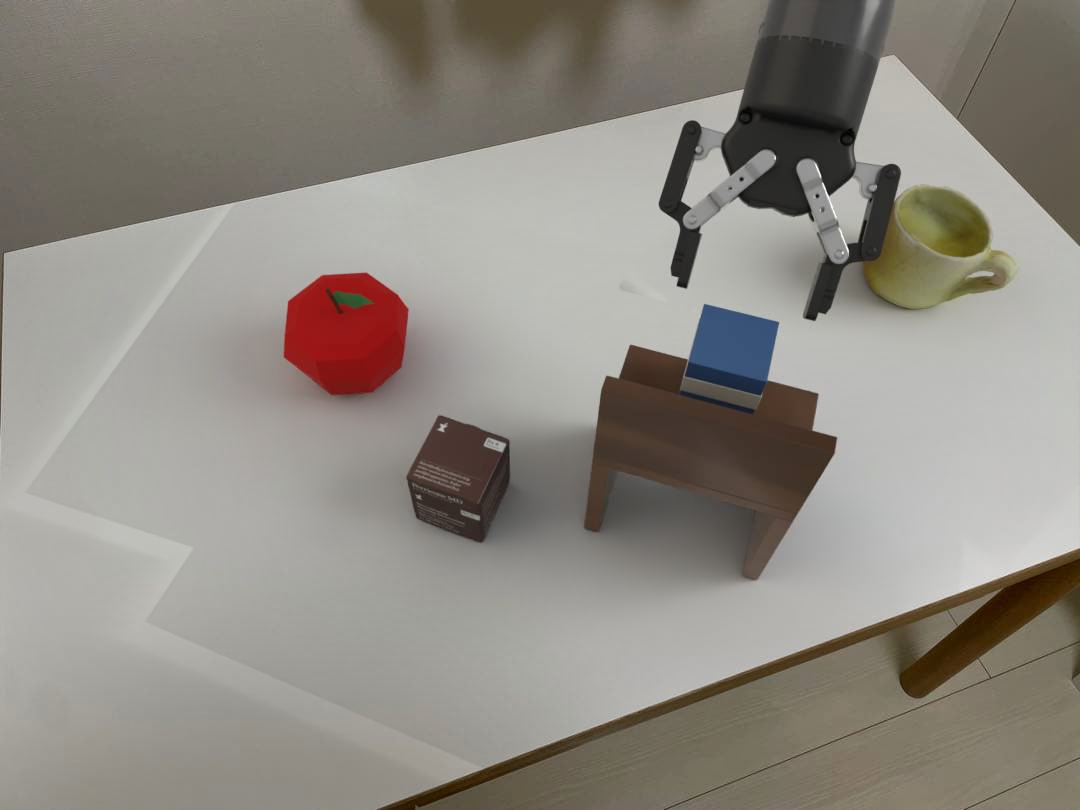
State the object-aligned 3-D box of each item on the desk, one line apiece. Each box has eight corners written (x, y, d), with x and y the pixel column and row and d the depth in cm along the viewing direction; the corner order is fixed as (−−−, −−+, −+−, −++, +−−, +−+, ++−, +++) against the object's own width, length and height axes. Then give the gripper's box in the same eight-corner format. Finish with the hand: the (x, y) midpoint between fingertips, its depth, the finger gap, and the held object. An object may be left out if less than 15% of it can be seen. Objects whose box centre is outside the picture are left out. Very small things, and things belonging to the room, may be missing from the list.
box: (414, 519, 68) (402, 476, 62) (445, 458, 71) (437, 412, 65) (483, 545, 67) (478, 504, 61) (512, 482, 70) (510, 437, 64)
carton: (687, 364, 62) (703, 302, 56) (756, 381, 61) (780, 321, 55) (671, 420, 59) (687, 362, 53) (743, 439, 58) (767, 382, 52)
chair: (616, 427, 73) (641, 271, 56) (778, 472, 71) (855, 323, 54) (583, 528, 68) (600, 390, 51) (757, 581, 65) (835, 453, 49)
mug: (825, 262, 81) (897, 184, 73) (874, 236, 87) (946, 163, 79) (916, 357, 78) (1001, 287, 70) (961, 324, 84) (1043, 256, 76)
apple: (275, 394, 74) (243, 323, 66) (328, 305, 80) (304, 229, 71) (387, 426, 73) (368, 357, 64) (432, 332, 78) (420, 258, 70)
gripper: (703, 11, 50) (635, 279, 54) (951, 58, 48) (861, 336, 51) (707, 40, 57) (646, 275, 61) (922, 83, 55) (845, 325, 59)
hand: (744, 303), depth 56 cm, fingers open, 8 cm apart
